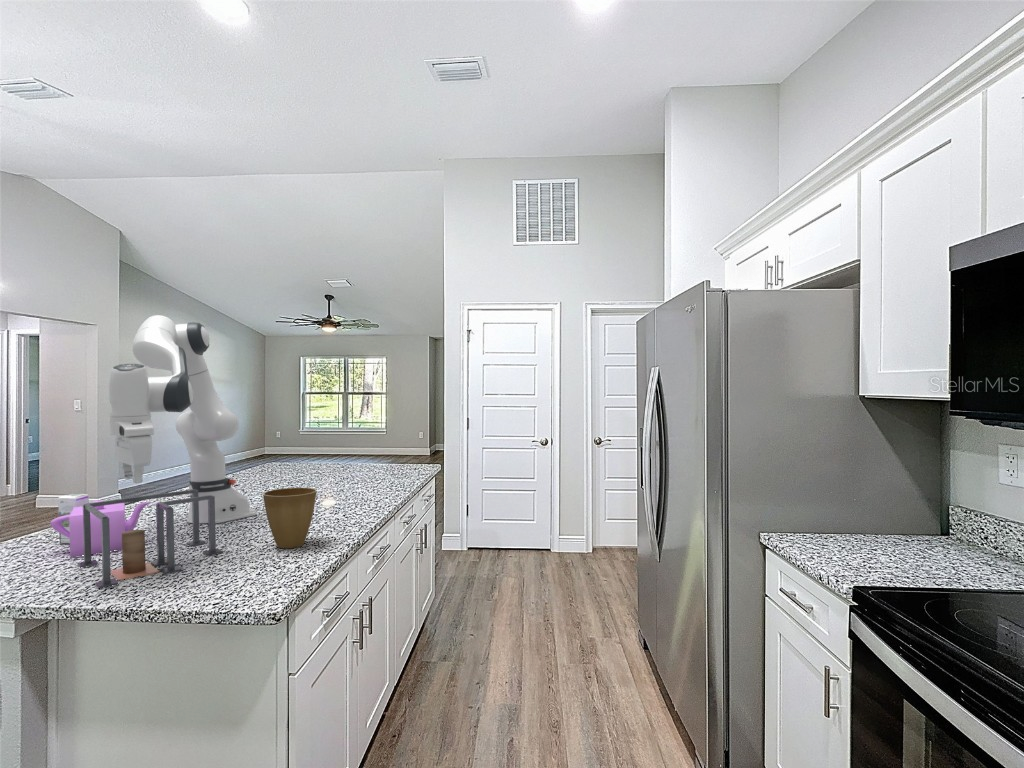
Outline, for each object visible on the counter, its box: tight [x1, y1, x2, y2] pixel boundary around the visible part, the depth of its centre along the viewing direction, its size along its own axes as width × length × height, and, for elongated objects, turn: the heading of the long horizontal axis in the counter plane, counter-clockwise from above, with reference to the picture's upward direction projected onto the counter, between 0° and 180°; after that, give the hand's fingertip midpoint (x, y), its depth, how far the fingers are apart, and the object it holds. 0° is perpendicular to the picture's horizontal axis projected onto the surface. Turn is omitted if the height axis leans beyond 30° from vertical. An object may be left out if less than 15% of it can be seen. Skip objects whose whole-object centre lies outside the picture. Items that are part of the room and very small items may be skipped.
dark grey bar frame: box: [76, 489, 223, 589], centre depth 162 cm, size 31×27×16 cm
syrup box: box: [57, 493, 90, 545], centre depth 185 cm, size 6×6×14 cm
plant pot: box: [262, 487, 317, 549], centre depth 177 cm, size 15×15×16 cm
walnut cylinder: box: [121, 529, 147, 574], centre depth 154 cm, size 5×5×10 cm
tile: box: [110, 562, 160, 582], centre depth 154 cm, size 9×10×1 cm
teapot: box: [50, 499, 152, 558], centre depth 178 cm, size 15×25×14 cm, turn 123°
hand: (132, 480), depth 154 cm, fingers open, 8 cm apart
